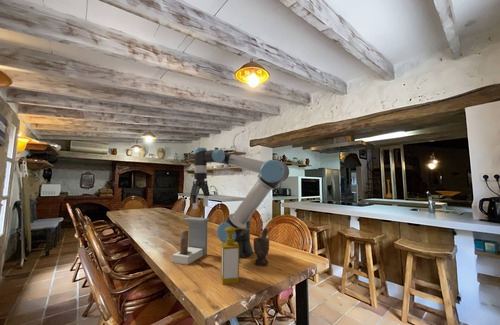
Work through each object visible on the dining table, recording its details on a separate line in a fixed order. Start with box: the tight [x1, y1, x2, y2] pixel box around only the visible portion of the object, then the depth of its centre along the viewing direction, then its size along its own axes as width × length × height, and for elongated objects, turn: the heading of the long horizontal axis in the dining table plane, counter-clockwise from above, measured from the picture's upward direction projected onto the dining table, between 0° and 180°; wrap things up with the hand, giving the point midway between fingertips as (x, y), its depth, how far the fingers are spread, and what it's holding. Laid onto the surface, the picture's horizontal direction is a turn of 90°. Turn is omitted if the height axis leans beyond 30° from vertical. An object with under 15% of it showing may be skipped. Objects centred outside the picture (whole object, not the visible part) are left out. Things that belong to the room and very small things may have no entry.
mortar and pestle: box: [253, 228, 270, 267], centre depth 115 cm, size 12×9×20 cm
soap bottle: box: [220, 227, 249, 285], centre depth 98 cm, size 7×13×24 cm, turn 102°
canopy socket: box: [171, 216, 210, 266], centre depth 125 cm, size 14×18×22 cm
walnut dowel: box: [179, 230, 189, 255], centre depth 121 cm, size 4×4×16 cm
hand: (200, 207), depth 130 cm, fingers open, 13 cm apart
